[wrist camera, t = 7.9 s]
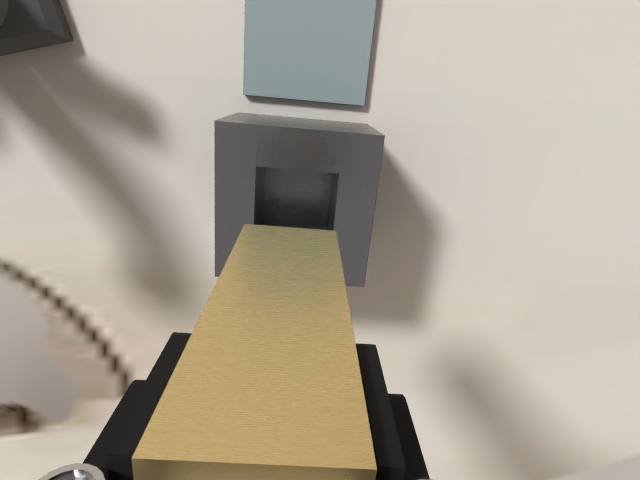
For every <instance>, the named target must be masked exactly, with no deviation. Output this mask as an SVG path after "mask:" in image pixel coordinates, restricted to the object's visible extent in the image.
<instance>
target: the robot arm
mask: <svg viewBox="0 0 640 480" xmlns="http://www.w3.org/2000/svg"><path fill="white" fill-rule="evenodd" d="M191 334H192V333H176V332H174V333H173V334H172V335H171V337H170V339H169V340H168V342H167V344H166V346H165V348H164V349H163V351H162V353H161V355H160V356H159V358H158V360H157V362H156V364H155V365H154V367H153V369H152V371H151V372H150V374H149V376H148V378H147V380H135V381H133V382H132V383H131V385H130V386H129V388H128V389H127V391H126V393H125V394H124V396H123V398H122V399H121V401H120V403H119V404H118V406H117V407H116V409H115V411H114V412H113V414H112V416H111V417H110V419H109V421H108V422H107V424H106V426H105V427H104V429H103V431H102V432H101V434H100V436H99V437H98V439H97V440H96V442H95V444H94V445H93V447H92V449H91V450H90V452H89V454H88V455H87V457H86V459H85V460H84V462H83V464H81V463H76V464H71V465H66V466H63V467H60V468H58V469H56V470H53V471H51V472H49V473H48V474H46V475H45V476H43V477H42V478H40V479H39V480H134V478H133V468H132V456H133V454H134V452H135V450H136V448H137V446H138V444H139V442H140V440H141V438H142V436H143V434H144V431H145V429H146V427H147V425H148V423H149V421H150V419H151V417H152V415H153V413H154V411H155V409H156V407H157V405H158V402H159V400H160V398H161V396H162V394H163V392H164V390H165V388H166V386H167V384H168V382H169V380H170V378H171V376H172V373H173V371H174V369H175V367H176V365H177V363H178V361H179V359H180V357H181V355H182V353H183V351H184V349H185V347H186V344H187V342H188V340H189V338H190V336H191ZM356 349H357V355H358V361H359V367H360V373H361V379H362V384H363V390H364V396H365V402H366V408H367V414H368V419H369V425H370V431H371V437H372V443H373V449H374V454H375V460H376V466H377V473H376V479H375V480H431V479H430V478H429V475H428V472H427V468H426V465H425V462H424V458H423V455H422V452H421V448H420V445H419V442H418V438H417V435H416V432H415V428H414V425H413V422H412V418H411V415H410V412H409V408H408V405H407V402H406V399H405V397H404V396H403V395H402V394H388V392H387V388H386V384H385V380H384V376H383V372H382V368H381V364H380V360H379V356H378V352H377V348H376V345H372V344H356Z"/></svg>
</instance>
